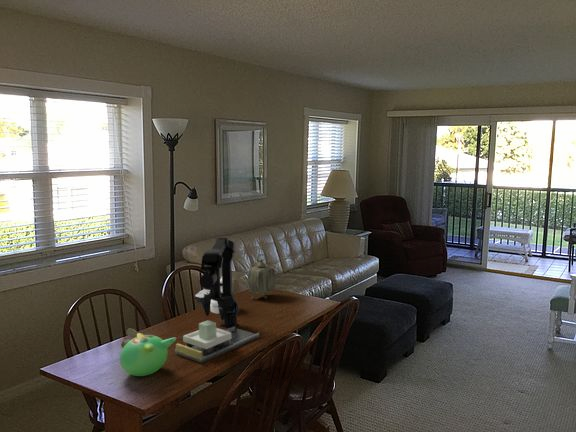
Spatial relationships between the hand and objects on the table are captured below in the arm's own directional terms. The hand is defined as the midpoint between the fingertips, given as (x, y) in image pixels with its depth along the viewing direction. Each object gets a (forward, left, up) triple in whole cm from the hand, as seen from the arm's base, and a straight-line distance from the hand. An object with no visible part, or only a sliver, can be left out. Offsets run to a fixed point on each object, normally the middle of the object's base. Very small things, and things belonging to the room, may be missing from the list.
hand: (214, 317), depth 207 cm
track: (0, +2, -12) cm, 12 cm away
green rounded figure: (-2, -33, -13) cm, 36 cm away
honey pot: (-34, +37, -13) cm, 51 cm away
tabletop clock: (-31, +65, -13) cm, 73 cm away
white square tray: (0, -4, -11) cm, 12 cm away
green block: (0, -4, -7) cm, 8 cm away
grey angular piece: (-26, -23, -13) cm, 37 cm away
